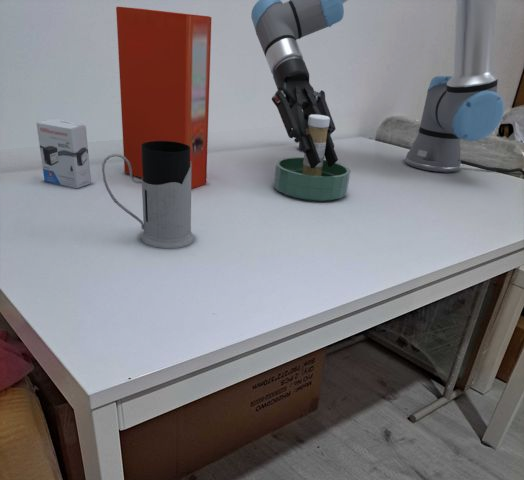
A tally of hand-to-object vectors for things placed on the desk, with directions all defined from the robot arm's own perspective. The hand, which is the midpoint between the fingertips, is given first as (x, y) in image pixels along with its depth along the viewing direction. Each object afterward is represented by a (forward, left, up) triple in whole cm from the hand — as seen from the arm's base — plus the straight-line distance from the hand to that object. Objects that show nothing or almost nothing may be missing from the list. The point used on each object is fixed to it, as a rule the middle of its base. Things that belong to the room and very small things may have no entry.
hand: (324, 164), depth 114 cm
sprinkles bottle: (+1, -4, -5) cm, 6 cm away
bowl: (+1, -4, -7) cm, 8 cm away
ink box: (+53, -13, -7) cm, 55 cm away
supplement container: (-16, -43, -7) cm, 46 cm away
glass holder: (+41, +20, -7) cm, 46 cm away
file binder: (+32, -15, -7) cm, 36 cm away
